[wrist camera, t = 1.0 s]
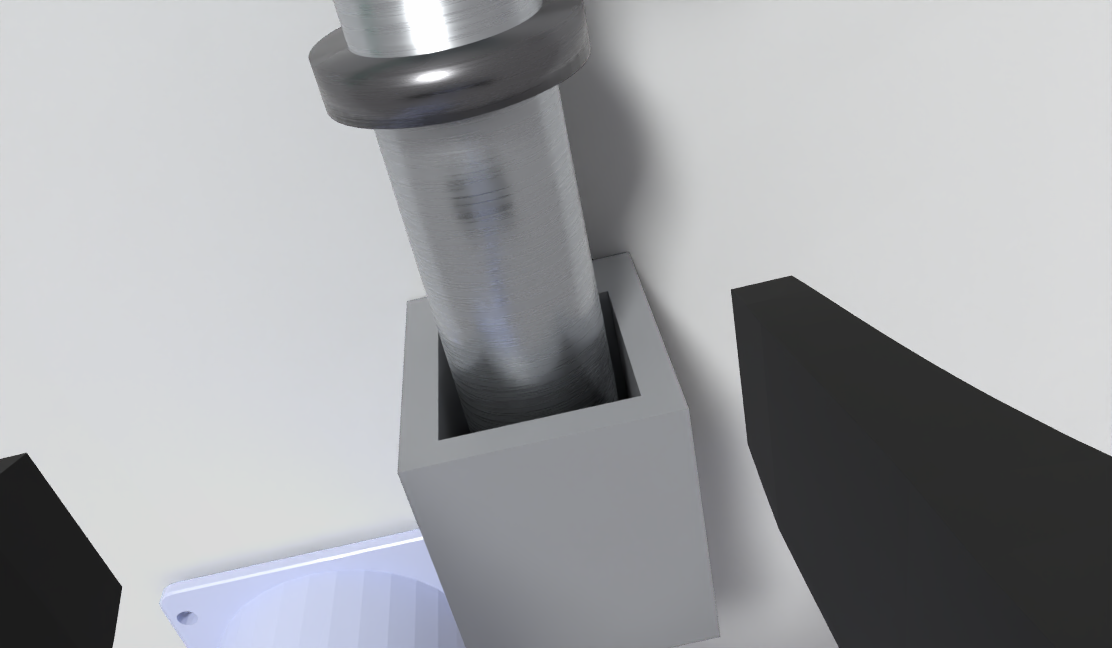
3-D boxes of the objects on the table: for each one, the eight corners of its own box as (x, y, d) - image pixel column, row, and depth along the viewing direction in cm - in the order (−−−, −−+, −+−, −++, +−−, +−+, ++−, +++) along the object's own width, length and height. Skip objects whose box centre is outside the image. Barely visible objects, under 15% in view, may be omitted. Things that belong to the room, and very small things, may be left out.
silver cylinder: (650, 456, 21) (692, 594, 18) (479, 493, 22) (487, 639, 18) (520, -288, 13) (550, -303, 10) (245, -225, 13) (176, -216, 10)
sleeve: (662, 456, 23) (720, 636, 18) (472, 498, 23) (481, 689, 18) (629, 252, 20) (688, 408, 15) (407, 301, 20) (397, 472, 15)
